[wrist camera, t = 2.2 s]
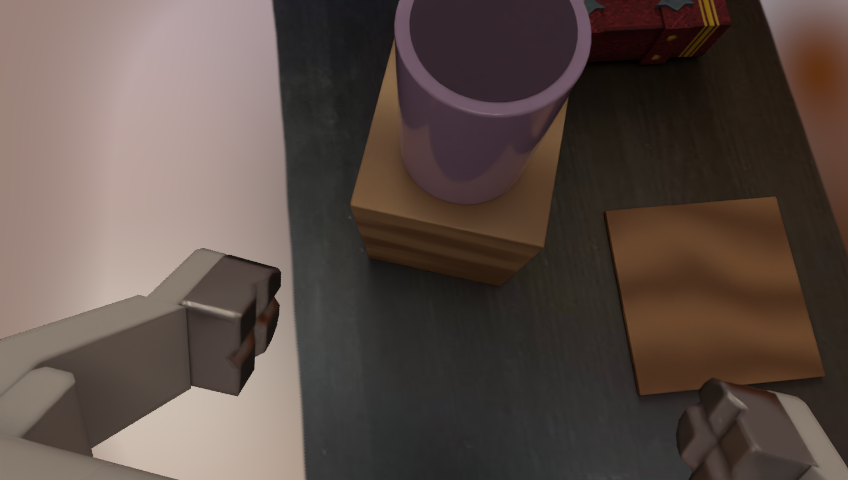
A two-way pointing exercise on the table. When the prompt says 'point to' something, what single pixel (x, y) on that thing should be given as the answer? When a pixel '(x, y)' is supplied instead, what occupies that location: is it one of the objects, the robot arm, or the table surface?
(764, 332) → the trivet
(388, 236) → the block
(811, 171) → the table surface
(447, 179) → the lavender cup
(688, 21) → the decorative book
